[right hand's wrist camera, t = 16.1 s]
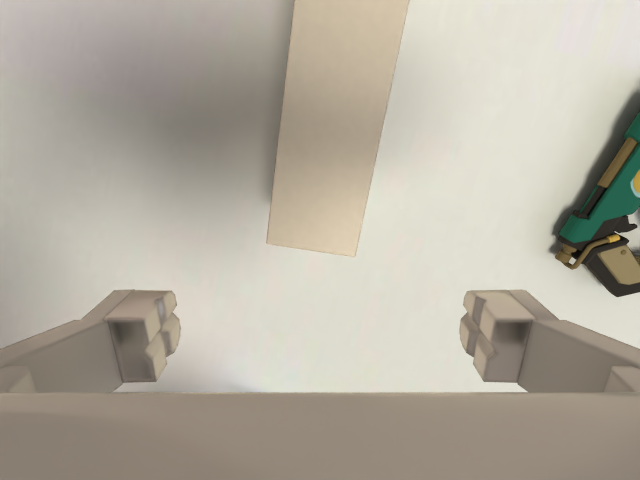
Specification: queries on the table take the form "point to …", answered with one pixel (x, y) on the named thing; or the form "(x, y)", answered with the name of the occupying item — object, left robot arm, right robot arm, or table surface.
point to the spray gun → (608, 222)
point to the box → (332, 120)
